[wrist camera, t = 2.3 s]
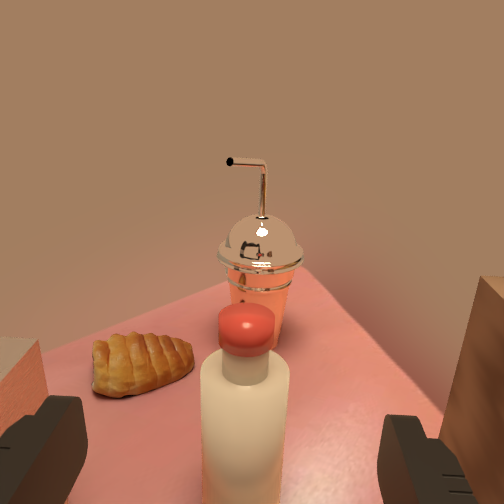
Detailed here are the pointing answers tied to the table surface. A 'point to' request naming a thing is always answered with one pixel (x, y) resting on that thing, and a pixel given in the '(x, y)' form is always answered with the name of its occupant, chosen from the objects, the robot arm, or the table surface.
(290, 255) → the cup with straw
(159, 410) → the table surface
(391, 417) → the robot arm
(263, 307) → the sauce bottle
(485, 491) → the stand
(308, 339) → the table surface
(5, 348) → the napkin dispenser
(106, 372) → the pastry
